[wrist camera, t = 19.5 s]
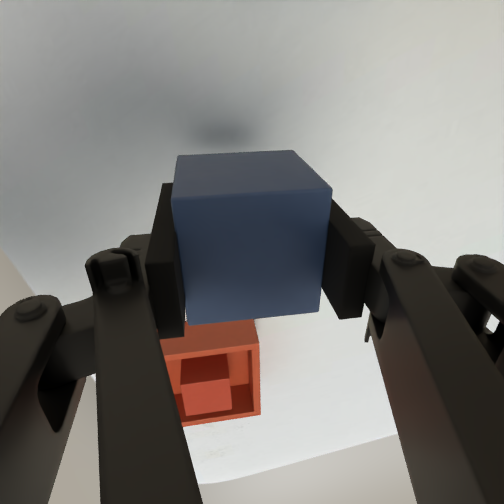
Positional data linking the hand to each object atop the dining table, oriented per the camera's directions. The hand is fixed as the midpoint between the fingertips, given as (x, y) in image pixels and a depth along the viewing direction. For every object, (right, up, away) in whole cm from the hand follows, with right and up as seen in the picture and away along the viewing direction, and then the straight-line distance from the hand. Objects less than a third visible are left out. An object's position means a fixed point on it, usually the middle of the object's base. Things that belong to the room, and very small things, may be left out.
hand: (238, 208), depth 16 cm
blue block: (0, 0, 0) cm, 0 cm away
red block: (-5, -15, +25) cm, 29 cm away
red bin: (-5, -14, +25) cm, 29 cm away
